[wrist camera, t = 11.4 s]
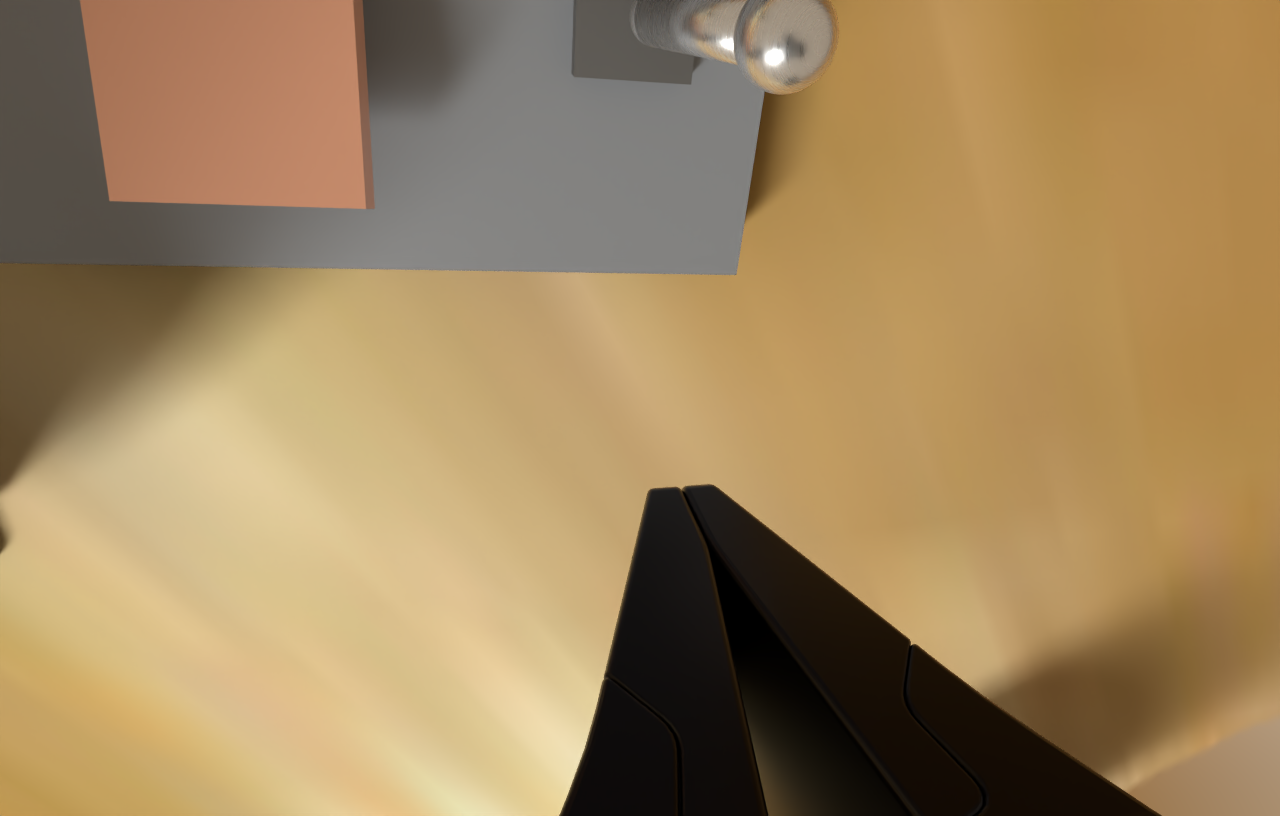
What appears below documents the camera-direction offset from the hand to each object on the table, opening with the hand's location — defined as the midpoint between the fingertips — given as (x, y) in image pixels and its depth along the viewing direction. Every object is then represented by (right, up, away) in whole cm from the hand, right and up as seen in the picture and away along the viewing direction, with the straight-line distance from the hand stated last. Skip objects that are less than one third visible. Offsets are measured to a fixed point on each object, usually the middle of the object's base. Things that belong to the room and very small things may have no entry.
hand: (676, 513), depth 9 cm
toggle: (0, +9, +5) cm, 10 cm away
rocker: (-7, +8, +3) cm, 11 cm away
